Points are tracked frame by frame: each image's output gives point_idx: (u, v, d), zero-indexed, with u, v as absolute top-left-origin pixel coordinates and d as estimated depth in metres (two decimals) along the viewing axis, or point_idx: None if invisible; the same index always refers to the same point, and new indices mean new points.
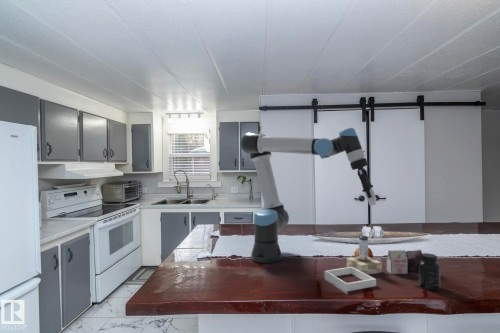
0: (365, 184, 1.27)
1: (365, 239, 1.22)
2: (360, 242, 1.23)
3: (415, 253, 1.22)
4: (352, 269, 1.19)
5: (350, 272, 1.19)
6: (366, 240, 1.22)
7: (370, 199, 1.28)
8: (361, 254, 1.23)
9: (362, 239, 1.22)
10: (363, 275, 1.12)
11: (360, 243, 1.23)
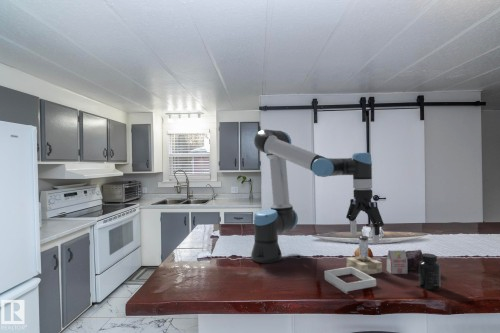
0: (380, 219, 1.15)
1: (365, 239, 1.22)
2: (360, 242, 1.23)
3: (415, 253, 1.22)
4: (352, 269, 1.19)
5: (350, 272, 1.19)
6: (366, 240, 1.22)
7: (375, 236, 1.16)
8: (361, 254, 1.23)
9: (362, 239, 1.22)
10: (363, 275, 1.12)
11: (360, 243, 1.23)
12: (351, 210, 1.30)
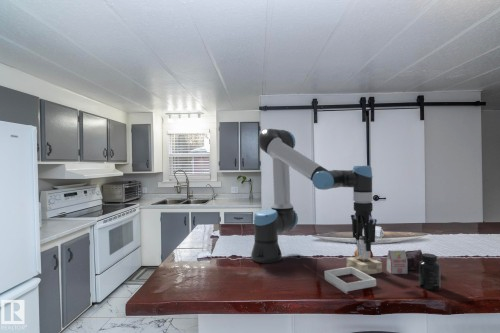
0: (373, 237, 1.18)
1: None
2: (360, 242, 1.23)
3: (415, 253, 1.22)
4: (352, 269, 1.19)
5: (350, 272, 1.19)
6: None
7: (367, 252, 1.21)
8: (361, 254, 1.23)
9: (362, 239, 1.22)
10: (363, 275, 1.12)
11: (360, 243, 1.23)
12: (355, 226, 1.28)
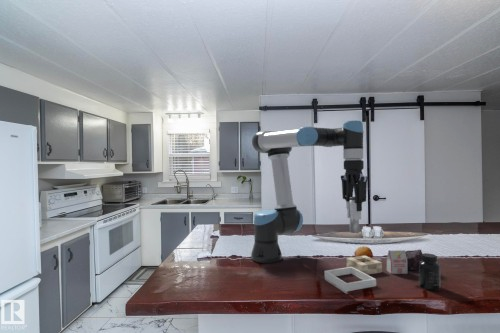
0: (364, 196, 1.11)
1: None
2: (350, 202, 1.15)
3: (415, 253, 1.23)
4: (352, 269, 1.19)
5: (350, 272, 1.19)
6: None
7: (358, 212, 1.14)
8: (351, 215, 1.15)
9: (353, 199, 1.14)
10: (363, 275, 1.12)
11: (350, 204, 1.15)
12: (345, 187, 1.20)
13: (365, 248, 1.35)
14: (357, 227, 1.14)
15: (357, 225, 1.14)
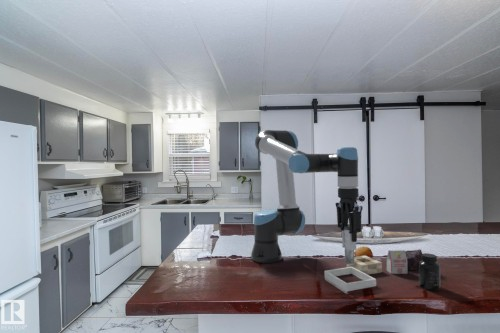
0: (358, 226, 1.06)
1: None
2: (345, 232, 1.11)
3: (415, 253, 1.23)
4: (352, 269, 1.19)
5: (350, 272, 1.19)
6: None
7: (352, 243, 1.09)
8: (346, 245, 1.10)
9: (347, 229, 1.10)
10: (363, 275, 1.12)
11: (345, 233, 1.11)
12: (340, 215, 1.16)
13: (365, 248, 1.35)
14: (352, 258, 1.10)
15: (352, 256, 1.10)
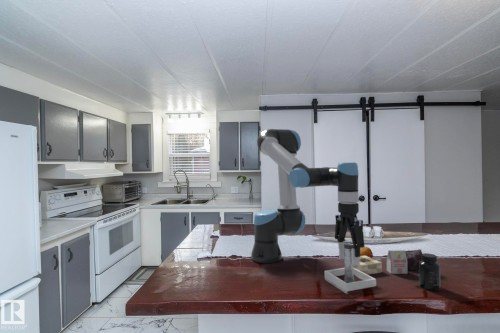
0: (361, 241, 1.05)
1: (351, 248, 1.10)
2: (345, 251, 1.11)
3: (415, 253, 1.23)
4: None
5: None
6: None
7: (356, 258, 1.07)
8: (346, 264, 1.11)
9: (347, 248, 1.11)
10: (363, 275, 1.12)
11: (345, 252, 1.11)
12: (338, 228, 1.17)
13: (365, 248, 1.35)
14: (352, 277, 1.10)
15: (352, 275, 1.10)
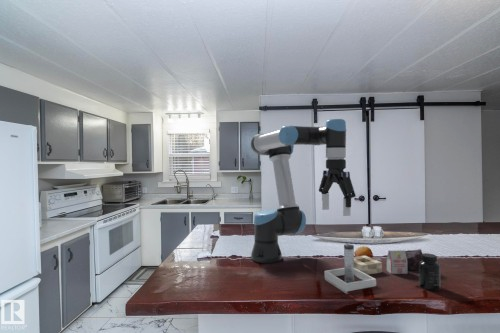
0: (351, 190, 1.06)
1: (350, 248, 1.10)
2: (345, 251, 1.11)
3: (415, 252, 1.23)
4: None
5: None
6: (352, 249, 1.10)
7: (347, 208, 1.08)
8: (346, 265, 1.11)
9: (347, 248, 1.10)
10: (363, 275, 1.12)
11: (345, 252, 1.11)
12: (324, 182, 1.21)
13: (365, 248, 1.35)
14: (352, 277, 1.10)
15: (352, 275, 1.10)
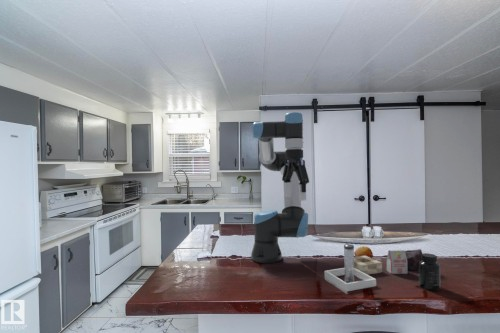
0: (306, 177, 1.15)
1: (350, 248, 1.10)
2: (345, 251, 1.11)
3: (415, 252, 1.23)
4: None
5: None
6: (352, 249, 1.10)
7: (302, 194, 1.17)
8: (346, 265, 1.11)
9: (347, 248, 1.10)
10: (363, 275, 1.12)
11: (345, 252, 1.11)
12: (286, 172, 1.31)
13: (365, 248, 1.35)
14: (352, 277, 1.10)
15: (352, 275, 1.10)
